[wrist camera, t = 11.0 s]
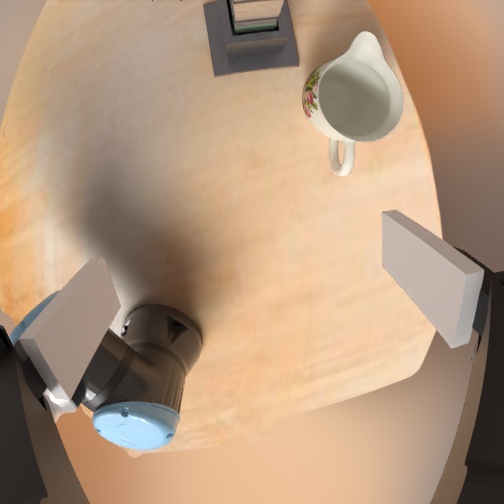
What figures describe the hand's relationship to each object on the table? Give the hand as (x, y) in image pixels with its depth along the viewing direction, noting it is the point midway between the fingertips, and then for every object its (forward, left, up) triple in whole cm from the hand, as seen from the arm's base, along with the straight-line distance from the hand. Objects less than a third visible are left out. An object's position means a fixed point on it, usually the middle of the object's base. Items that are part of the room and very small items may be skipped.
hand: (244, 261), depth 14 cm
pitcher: (+14, +7, -35) cm, 38 cm away
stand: (+4, +20, -35) cm, 40 cm away
